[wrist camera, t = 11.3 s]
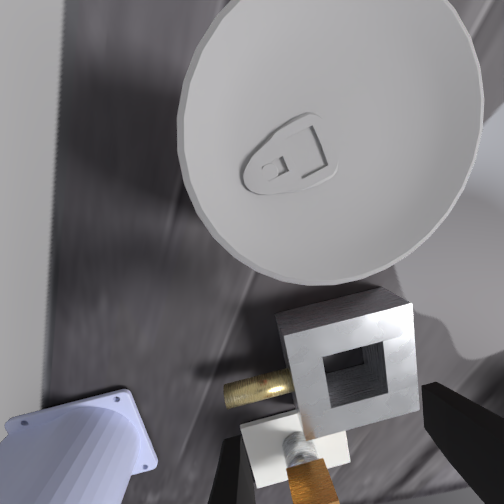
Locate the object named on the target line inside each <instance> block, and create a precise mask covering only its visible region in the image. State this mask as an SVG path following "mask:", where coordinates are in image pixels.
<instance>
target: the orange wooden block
mask: <svg viewBox="0 0 504 504" xmlns="http://www.w3.org/2000/svg"><path fill="white" fill-rule="evenodd" d="M282 449H283V453H284V458H285V463H286V467H287V468H286V471H287V476H288V481H289V485H290V490H291V495H292V499H293V504H339V500H338V497H337V494H336V492H335V489H334V486H333V483H332V481H331V478H330V475H329V472H328V470H327V467H326V464H325V462H324V459H323V458H321V459H319V457H318V454H317V451H316V448H315V445H314V443H313V440H309V441H306V440H305V437H304V434H303V432H302V431H298V432H293V433H291V434H289V435H288V436H287V437H286V438H285V439H284V441H283V443H282Z"/></svg>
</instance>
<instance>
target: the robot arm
mask: <svg viewBox="0 0 504 504" xmlns="http://www.w3.org/2000/svg"><path fill="white" fill-rule="evenodd" d="M116 397H119V398H116ZM422 401H423V416H424V428H425V429H426V431H427V432H428V433H429V435H430V436H431V438H432V439H433V441H434V442H435V443H436V445H437V446H438V448H439V449H440V450H441V452H442V453H443V454H444V456H445V457H446V458H447V460H448V461H449V462H450V463H451V465H452V466H453V467H454V468H455V469H456V470H457V472H458V473H459V474H460V475H461V476H462V477H463V479H464V480H465V481H466V482H467V483H468V485H469V486H470V487H471V488H472V489H473V490H474V492H475V493H476V494H477V495H478V496H479V497H480V498H481V500H482V501H483V502H484V503H485V504H504V418H502V417H500V416H498V415H496V414H494V413H493V412H491V411H489V410H487V409H485V408H483V407H482V406H480V405H478V404H476V403H474V402H472V401H471V400H469V399H467V398H465V397H463V396H462V395H460V394H458V393H456V392H454V391H453V390H451V389H449V388H447V387H445V386H443V385H442V384H440V383H438V382H433V383H430V384H426V385H422ZM5 429H6V430H7V432H8V435H7V437H5V438H4V440H3V441H2V442H1V443H0V504H121V502H122V499H123V496H124V493H125V491H126V488H127V485H128V482H129V480H130V477H131V475H134V474H138V473H141V472H145V471H149V470H152V469H154V468H156V466H157V463H158V459H157V456H156V454H155V451H154V449H153V446H152V444H151V441H150V439H149V436H148V434H147V431H146V429H145V426H144V424H143V421H142V419H141V416H140V414H139V411H138V409H137V406H136V404H135V401H134V399H133V396H132V394H131V392H130V391H129V390H128V389H121V390H117V391H113V392H109V393H105V394H101V395H97V396H94V397H90V398H86V399H82V400H78V401H74V402H70V403H66V404H62V405H58V406H55V407H51V408H47V409H43V410H39V411H35V412H31V413H28V414H23V415H20V416H16V417H12V418H10V419H9V420H8V421H7V422H6V423H5ZM208 504H256V503H255V494H254V485H253V477H252V473H251V469H250V466H249V462H248V459H247V455H246V452H245V448H244V445H243V441H242V438H241V435H238V436H235V437H231V438H227V439H225V440H224V441H223V443H222V448H221V453H220V458H219V462H218V466H217V471H216V475H215V478H214V482H213V486H212V490H211V494H210V497H209V501H208Z"/></svg>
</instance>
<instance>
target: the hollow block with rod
mask: <svg viewBox="0 0 504 504" xmlns="http://www.w3.org/2000/svg"><path fill="white" fill-rule="evenodd" d="M275 318H276V322H277V327H278V332H279V336H280V341H281V346H282V350H283V355H284V359H285V364H286V368H285V369H281V370H277V371H274V372H270V373H266V374H262V375H258V376H254V377H251V378H247V379H243V380H239V381H235V382H231V383H228V384H224V399H225V404H226V407H227V409H230V408H234V407H238V406H241V405H245V404H249V403H253V402H256V401H260V400H264V399H268V398H271V397H275V396H279V395H283V394H286V393H290V392H292V396H293V401H294V406H295V409H296V412H297V415H298V418H299V421H300V424H301V427H302V430H303V434H304V437H305V440H306V441H309V440H313V439H317V438H320V437H324V436H327V435H331V434H335V433H338V432H342V431H346V430H349V429H353V428H356V427H360V426H364V425H367V424H371V423H374V422H378V421H382V420H385V419H389V418H393V417H396V416H400V415H403V414H407V413H411V412H414V411H418V410H420V408H419V394H418V380H417V366H416V352H415V337H414V323H413V309H412V303H411V302H409V301H407V300H405V299H403V298H402V297H400V296H398V295H396V294H394V293H392V292H391V291H389V290H387V289H385V288H383V287H379V288H375V289H371V290H367V291H363V292H359V293H355V294H351V295H347V296H343V297H339V298H335V299H331V300H327V301H323V302H319V303H315V304H311V305H307V306H303V307H299V308H295V309H291V310H287V311H283V312H279V313H275ZM359 347H362V352H363V360H364V364H361V365H358V366H354V367H350V368H346V369H343V370H339V371H335V372H331V373H327V374H325V370H324V364H323V358H322V357H324V356H328V355H332V354H336V353H339V352H343V351H347V350H351V349H355V348H359Z"/></svg>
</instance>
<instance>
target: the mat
mask: <svg viewBox="0 0 504 504" xmlns="http://www.w3.org/2000/svg"><path fill="white" fill-rule="evenodd" d="M240 429H241V433H242V436H243V440H244V443H245V447H246V450H247V454H248V457H249V461H250V464H251V468H252V471H253V475H254V478H255V481H256V485H257V488H261V487H264V486H268V485H272V484H275V483H279V482H282V481H286V480H288V476H287V471H286V468H287V467H286V463H285V458H284V453H283V449H282V443H283V441H284V439H285V438H286V437H287V436H288V435H289V434H291V433H293V432H298V431H302V432H303V430H302V427H301V424H300V421H299V418H298V415H297V412H296V410H292V411H289V412H285V413H281V414H278V415H274V416H270V417H267V418H263V419H259V420H255V421H252V422H248V423H244V424H241V425H240ZM313 443H314V445H315V448H316V451H317V454H318V457H319V459H321V458H323V459H324V462H325V464H326V467H327V469H328V468H332V467H335V466H339V465H342V464H346V463H349V462H350V456H349V450H348V444H347V437H346V431H342V432H338V433H335V434H331V435H327V436H324V437H320V438H317V439H313Z"/></svg>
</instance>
